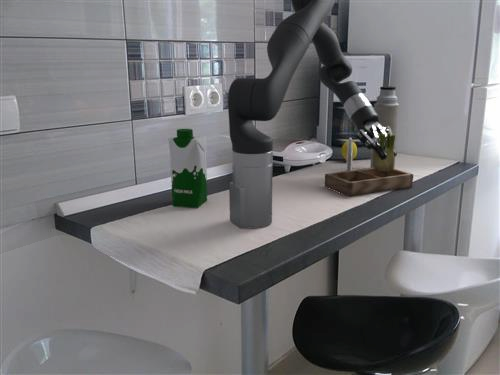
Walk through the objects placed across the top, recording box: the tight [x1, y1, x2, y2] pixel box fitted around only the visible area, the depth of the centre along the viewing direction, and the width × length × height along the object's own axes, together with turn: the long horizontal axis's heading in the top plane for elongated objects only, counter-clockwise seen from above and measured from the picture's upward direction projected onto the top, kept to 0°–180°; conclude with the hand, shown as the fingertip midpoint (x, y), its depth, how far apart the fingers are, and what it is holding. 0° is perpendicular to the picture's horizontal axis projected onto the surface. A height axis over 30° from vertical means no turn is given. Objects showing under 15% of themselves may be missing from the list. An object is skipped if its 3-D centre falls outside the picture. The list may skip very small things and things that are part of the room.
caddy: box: [324, 167, 414, 198], centre depth 147 cm, size 23×12×4 cm, turn 116°
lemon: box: [341, 140, 358, 161], centre depth 182 cm, size 6×6×8 cm
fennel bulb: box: [373, 133, 395, 174], centre depth 148 cm, size 6×5×12 cm
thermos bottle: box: [369, 85, 400, 169], centre depth 166 cm, size 8×8×28 cm
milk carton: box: [168, 128, 208, 209], centre depth 130 cm, size 9×9×20 cm
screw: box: [340, 137, 354, 172], centre depth 158 cm, size 13×5×5 cm
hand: (389, 157), depth 147 cm, fingers closed on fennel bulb, 3 cm apart
